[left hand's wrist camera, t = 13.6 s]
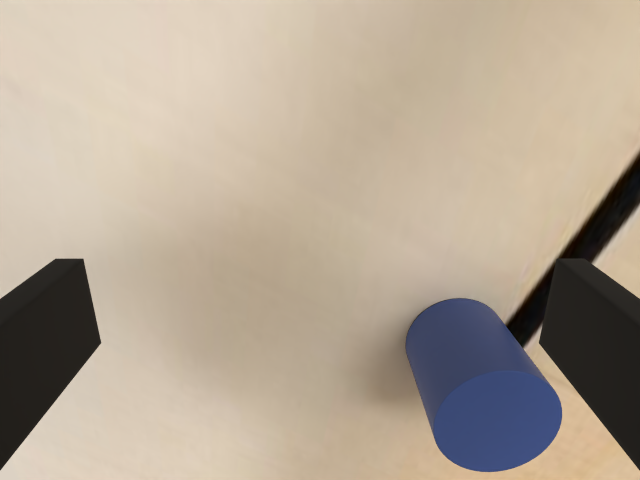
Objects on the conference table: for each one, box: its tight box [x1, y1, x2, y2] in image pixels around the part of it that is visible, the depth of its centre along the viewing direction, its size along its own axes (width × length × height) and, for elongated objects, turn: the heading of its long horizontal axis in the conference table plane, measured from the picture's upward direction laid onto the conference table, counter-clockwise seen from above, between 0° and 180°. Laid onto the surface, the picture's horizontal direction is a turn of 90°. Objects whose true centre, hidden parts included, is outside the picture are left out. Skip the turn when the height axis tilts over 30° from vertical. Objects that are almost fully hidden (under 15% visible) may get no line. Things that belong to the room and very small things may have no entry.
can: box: [406, 298, 562, 472], centre depth 29 cm, size 7×7×8 cm
